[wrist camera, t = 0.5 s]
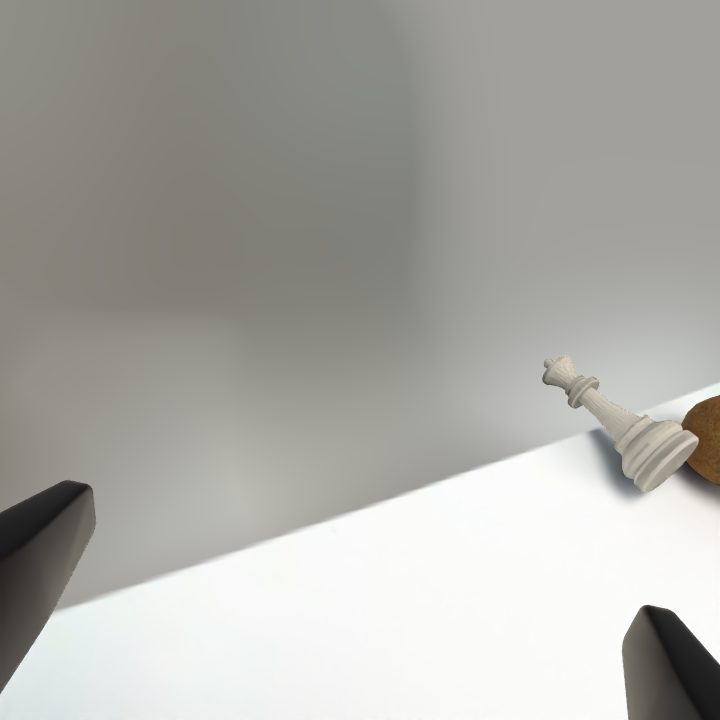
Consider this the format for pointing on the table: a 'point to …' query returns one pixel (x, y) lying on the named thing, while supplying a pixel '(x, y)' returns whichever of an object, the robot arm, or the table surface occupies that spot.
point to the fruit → (705, 438)
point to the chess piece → (627, 429)
